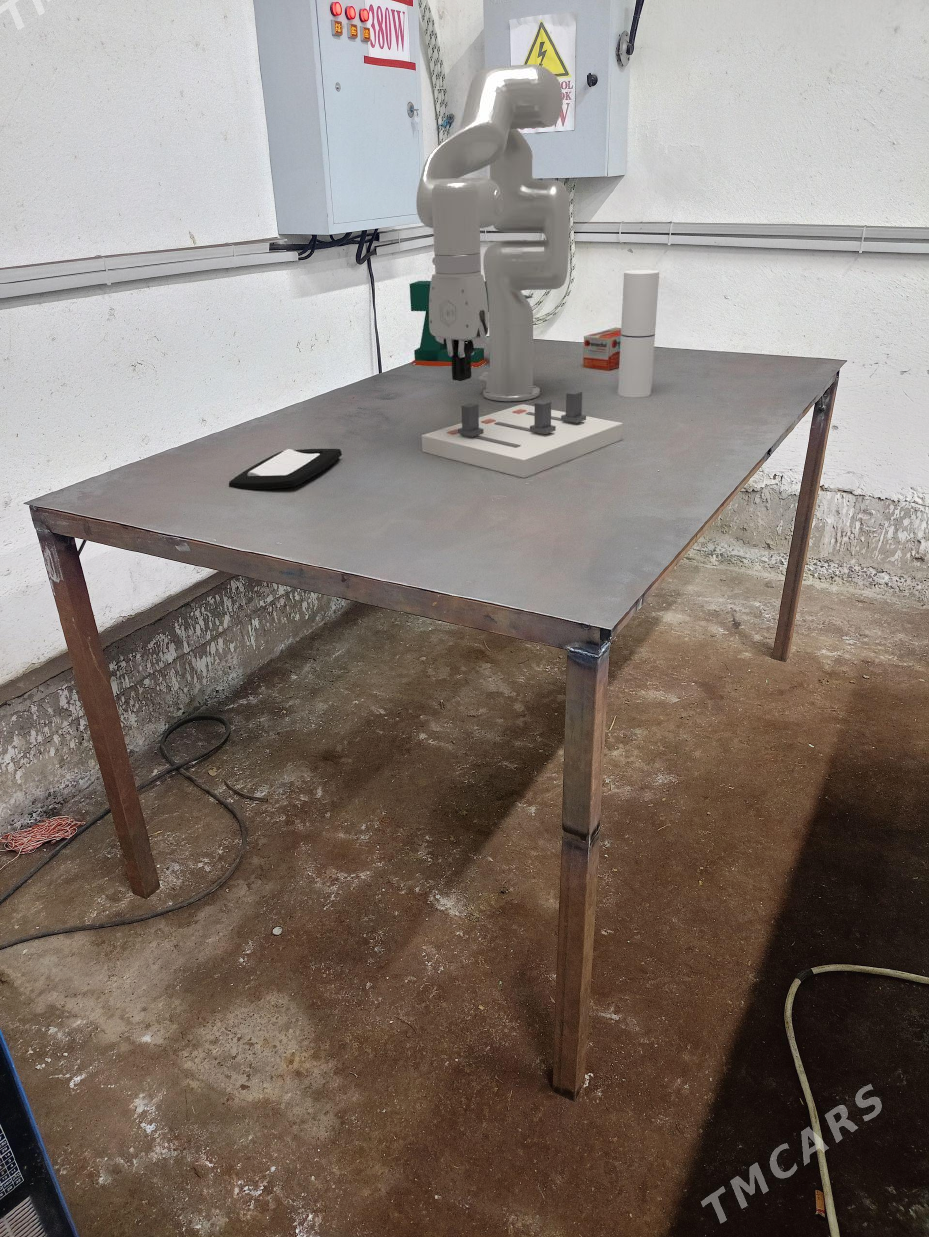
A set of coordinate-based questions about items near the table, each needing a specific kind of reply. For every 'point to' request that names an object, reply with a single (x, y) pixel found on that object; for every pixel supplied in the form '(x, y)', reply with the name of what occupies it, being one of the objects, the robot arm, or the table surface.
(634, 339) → the cylindrical container
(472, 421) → the breaker
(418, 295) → the power tool
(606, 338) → the medicine box
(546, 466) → the breaker panel
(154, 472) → the table surface
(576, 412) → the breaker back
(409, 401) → the table surface
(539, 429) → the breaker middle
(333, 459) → the light switch
